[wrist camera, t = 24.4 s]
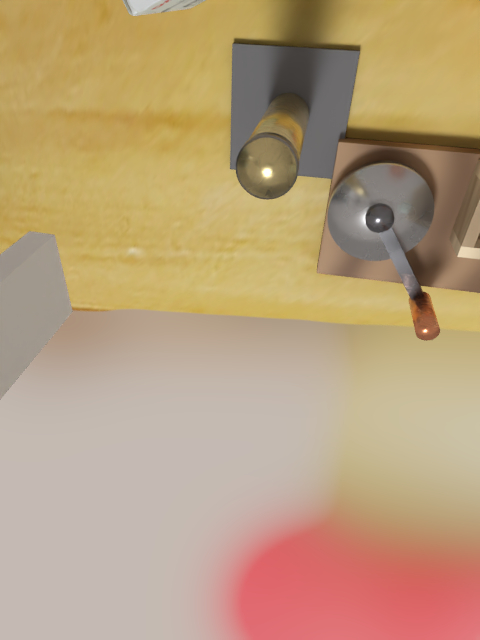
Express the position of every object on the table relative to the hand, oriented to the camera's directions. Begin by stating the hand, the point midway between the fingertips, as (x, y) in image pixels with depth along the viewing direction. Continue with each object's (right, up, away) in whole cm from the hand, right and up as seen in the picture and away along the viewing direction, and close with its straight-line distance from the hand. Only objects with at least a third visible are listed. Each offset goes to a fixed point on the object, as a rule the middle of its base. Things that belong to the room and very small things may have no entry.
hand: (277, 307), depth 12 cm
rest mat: (+3, +17, +25) cm, 31 cm away
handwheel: (+13, +7, +28) cm, 32 cm away
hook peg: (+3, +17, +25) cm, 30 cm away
